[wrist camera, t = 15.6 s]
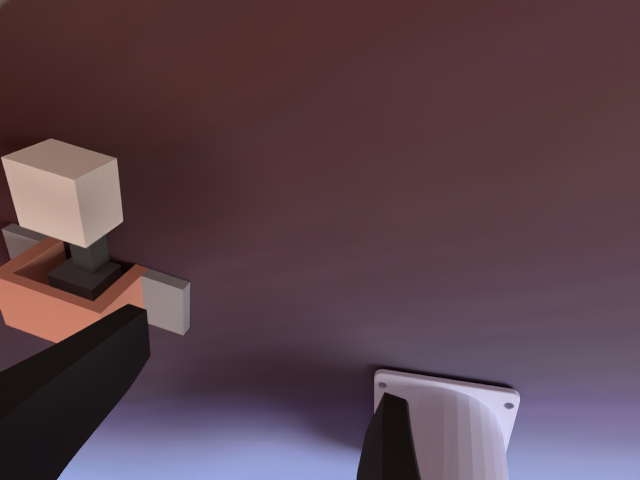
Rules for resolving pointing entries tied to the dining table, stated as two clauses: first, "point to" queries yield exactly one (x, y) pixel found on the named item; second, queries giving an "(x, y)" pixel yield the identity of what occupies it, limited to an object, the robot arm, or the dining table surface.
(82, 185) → the plug
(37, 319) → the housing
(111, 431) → the dining table surface
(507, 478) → the robot arm
